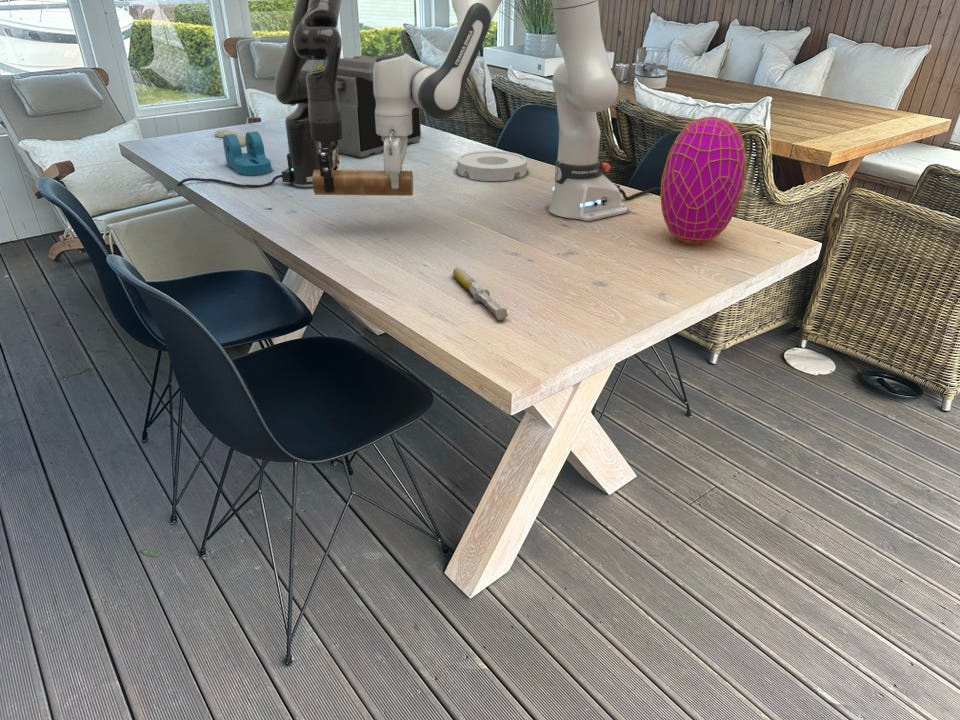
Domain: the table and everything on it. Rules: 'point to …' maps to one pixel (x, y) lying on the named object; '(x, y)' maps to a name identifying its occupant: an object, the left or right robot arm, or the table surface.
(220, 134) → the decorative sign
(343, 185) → the rod
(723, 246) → the table surface
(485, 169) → the ashtray
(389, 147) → the right robot arm
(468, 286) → the syringe
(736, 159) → the decorative egg
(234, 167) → the camera mount
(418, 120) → the grey cooler box
